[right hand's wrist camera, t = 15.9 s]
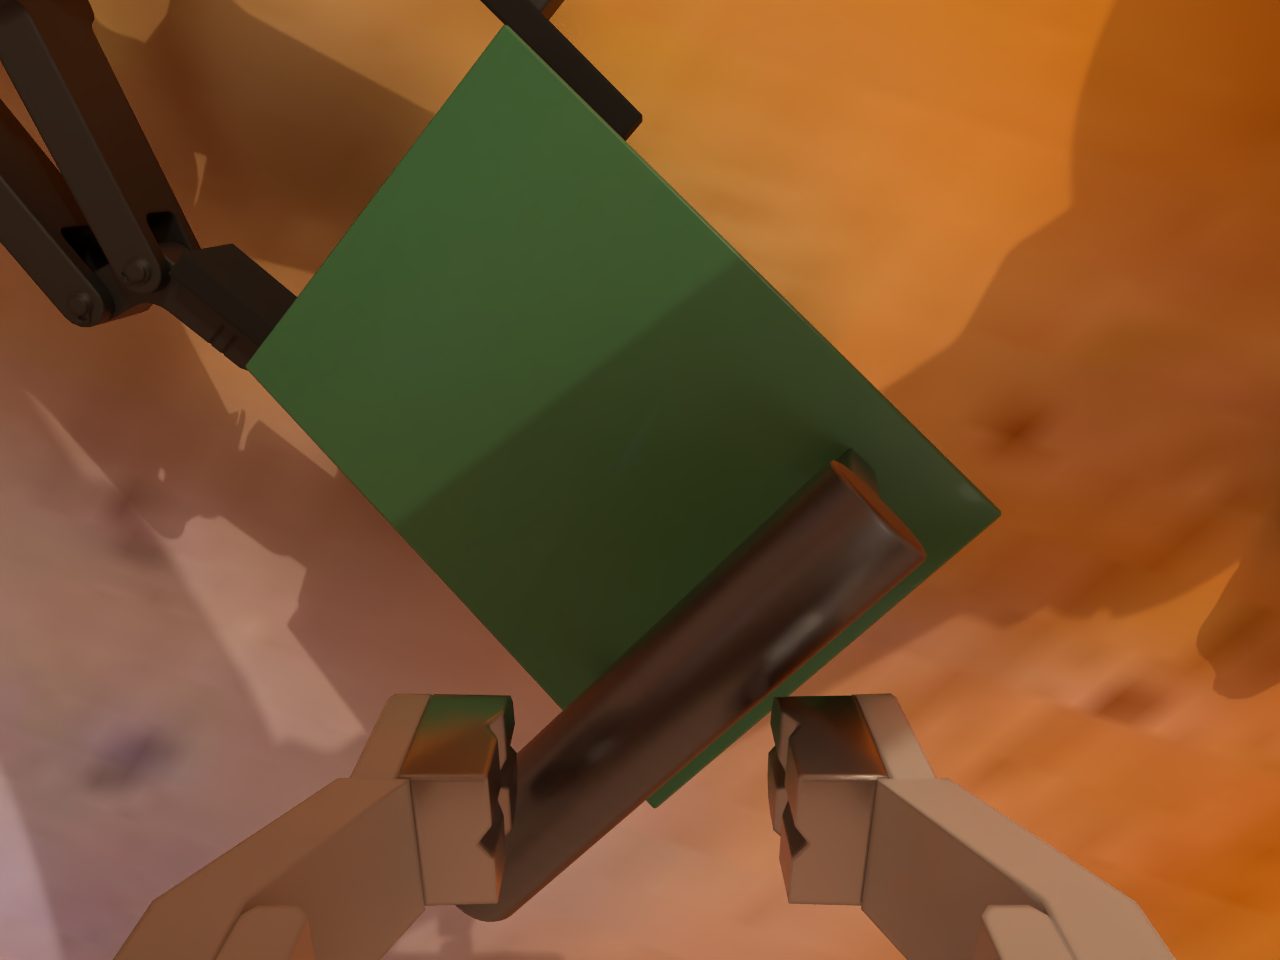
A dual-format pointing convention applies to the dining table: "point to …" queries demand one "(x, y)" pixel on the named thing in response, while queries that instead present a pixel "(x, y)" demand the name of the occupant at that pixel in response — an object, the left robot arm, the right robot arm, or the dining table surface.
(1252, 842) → the dining table surface
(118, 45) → the dining table surface
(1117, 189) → the dining table surface
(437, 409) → the lid
